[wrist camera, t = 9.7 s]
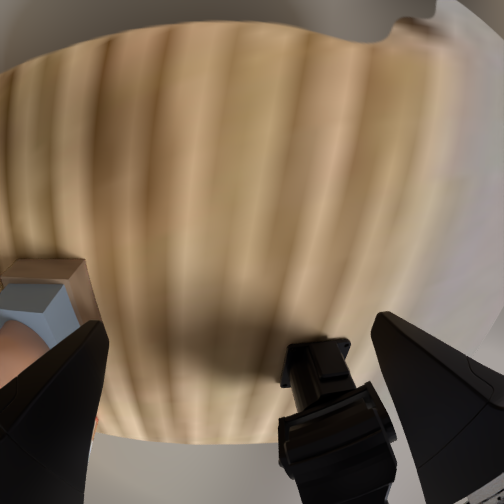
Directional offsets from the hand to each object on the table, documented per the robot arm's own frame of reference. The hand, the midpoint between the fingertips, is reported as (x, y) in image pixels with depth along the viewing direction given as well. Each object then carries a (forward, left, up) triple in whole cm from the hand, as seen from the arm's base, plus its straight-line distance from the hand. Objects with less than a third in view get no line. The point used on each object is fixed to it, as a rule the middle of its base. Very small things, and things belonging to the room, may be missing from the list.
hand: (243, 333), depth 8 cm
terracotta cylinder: (-8, +16, -5) cm, 18 cm away
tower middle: (-8, +15, -9) cm, 19 cm away
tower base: (-8, +16, -12) cm, 21 cm away
